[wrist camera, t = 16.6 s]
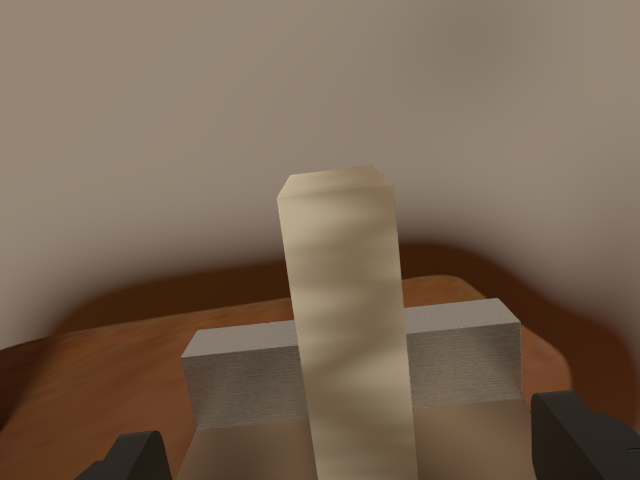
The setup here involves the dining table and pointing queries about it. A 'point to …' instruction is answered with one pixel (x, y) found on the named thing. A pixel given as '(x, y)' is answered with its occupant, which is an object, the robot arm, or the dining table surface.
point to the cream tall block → (350, 322)
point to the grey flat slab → (430, 440)
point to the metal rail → (287, 378)
